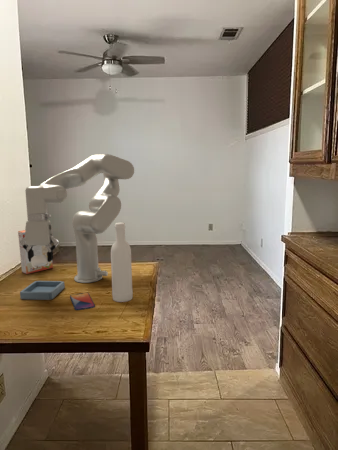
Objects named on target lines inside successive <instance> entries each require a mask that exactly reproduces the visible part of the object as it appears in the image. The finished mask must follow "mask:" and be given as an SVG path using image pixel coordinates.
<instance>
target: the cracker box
mask: <svg viewBox="0 0 338 450" xmlns="http://www.w3.org/2000/svg"><path fill="white" fill-rule="evenodd" d="M17 237H18V245H19V257H20V265H21V272H22V273H23V274H26V275H29V274H33V273H38V272H42V271H45V270H50V269H53V268H54V264H53V260H52V261H50V262H49V266H46V265H48V263H47V264H45V265H42V266H35V267H36V268H34V267H33V266H32V264H31V262H29V259H28V252H27V251H26V250H25V249H24V248H23V246H22V245H21V244H20V243H19V242H20V241H21V240H22V239H23V238H24V237H25V229H23V230H18V231H17ZM25 243H26V241H25ZM32 250H33V251H34V256H36V255H45V256H46V257H47V252H48V250H47V248H46V246H33V248H32Z"/></svg>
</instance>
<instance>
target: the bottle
mask: <svg viewBox="0 0 338 450" xmlns="http://www.w3.org/2000/svg"><path fill="white" fill-rule="evenodd" d="M114 230H115V231H114V232H115V241H114V242H113V244H111V245H112V246H111V248H110V265H111V289H112V290H111V296H112V300H113V301H114V302H116V303H122V302H123V303H126V302H130V301H131V300H132V299H133V294H134V292H133V273H132V269H133V268H132V247H131V245H130V244H129V242H127V241H126V225H125V223H124V222H122V221H121V222H115V224H114Z"/></svg>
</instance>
